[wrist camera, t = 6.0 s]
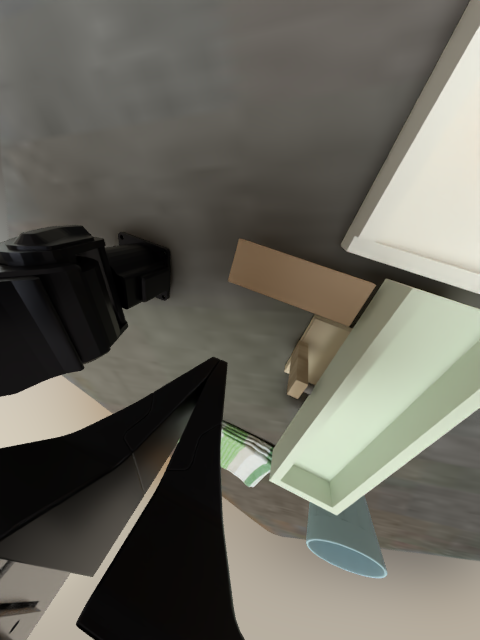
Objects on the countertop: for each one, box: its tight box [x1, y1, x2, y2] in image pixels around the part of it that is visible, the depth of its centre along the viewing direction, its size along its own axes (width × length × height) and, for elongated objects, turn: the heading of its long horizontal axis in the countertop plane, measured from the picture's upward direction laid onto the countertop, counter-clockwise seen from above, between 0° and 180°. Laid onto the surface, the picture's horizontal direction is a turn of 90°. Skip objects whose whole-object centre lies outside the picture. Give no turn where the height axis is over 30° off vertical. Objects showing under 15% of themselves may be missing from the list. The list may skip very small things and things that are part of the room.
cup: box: [306, 495, 387, 578], centre depth 24 cm, size 8×8×10 cm
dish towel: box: [178, 420, 274, 487], centre depth 37 cm, size 17×23×4 cm
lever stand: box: [284, 314, 353, 399], centre depth 17 cm, size 11×8×7 cm
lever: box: [228, 239, 480, 515], centre depth 15 cm, size 16×20×3 cm
